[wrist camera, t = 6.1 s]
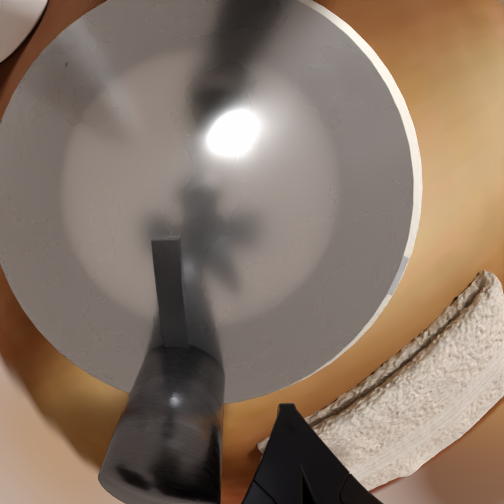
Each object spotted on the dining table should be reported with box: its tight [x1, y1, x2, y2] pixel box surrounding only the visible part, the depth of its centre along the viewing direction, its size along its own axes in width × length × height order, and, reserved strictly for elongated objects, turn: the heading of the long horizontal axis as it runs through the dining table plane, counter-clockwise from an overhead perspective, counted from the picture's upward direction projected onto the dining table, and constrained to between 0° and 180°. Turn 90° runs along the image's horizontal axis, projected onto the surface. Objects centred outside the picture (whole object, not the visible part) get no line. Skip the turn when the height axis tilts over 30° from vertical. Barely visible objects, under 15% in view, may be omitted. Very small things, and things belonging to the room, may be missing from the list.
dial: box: [0, 0, 414, 504], centre depth 6 cm, size 15×15×6 cm
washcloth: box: [257, 269, 504, 491], centre depth 14 cm, size 12×18×3 cm, turn 132°
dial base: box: [97, 0, 422, 391], centre depth 10 cm, size 18×18×2 cm
